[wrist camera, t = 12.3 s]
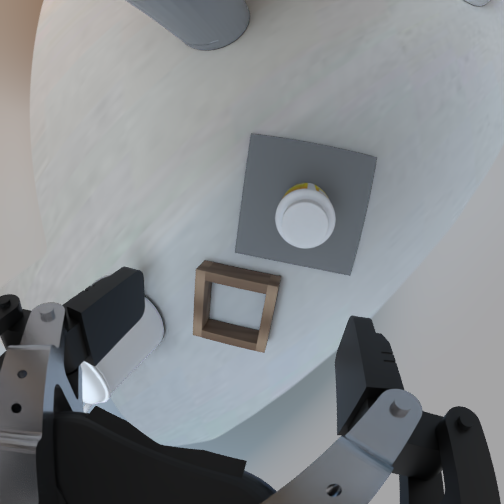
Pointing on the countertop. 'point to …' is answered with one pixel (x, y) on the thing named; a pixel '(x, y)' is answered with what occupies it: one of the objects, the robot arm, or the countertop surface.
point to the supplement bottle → (305, 216)
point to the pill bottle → (477, 2)
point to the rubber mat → (294, 172)
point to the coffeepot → (121, 357)
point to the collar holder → (237, 279)
